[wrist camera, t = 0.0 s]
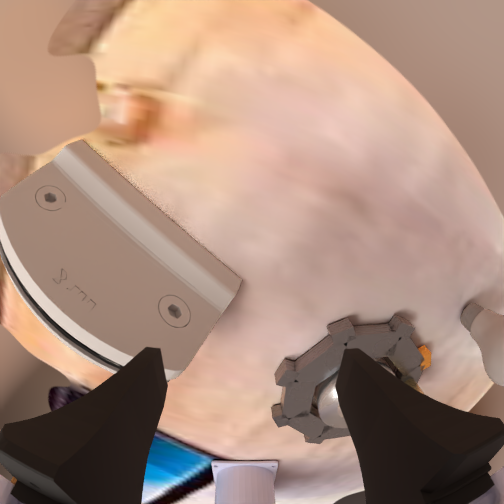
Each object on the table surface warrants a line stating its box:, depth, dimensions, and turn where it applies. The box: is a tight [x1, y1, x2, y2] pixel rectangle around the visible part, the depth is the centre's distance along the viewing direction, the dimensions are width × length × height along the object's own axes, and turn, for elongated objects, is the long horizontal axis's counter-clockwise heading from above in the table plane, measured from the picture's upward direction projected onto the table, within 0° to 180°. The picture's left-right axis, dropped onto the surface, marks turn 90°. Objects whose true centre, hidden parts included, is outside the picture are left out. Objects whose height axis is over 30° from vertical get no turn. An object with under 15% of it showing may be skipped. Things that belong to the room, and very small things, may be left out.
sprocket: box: [271, 315, 431, 444], centre depth 20 cm, size 15×15×6 cm
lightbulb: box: [461, 303, 504, 386], centre depth 16 cm, size 6×6×11 cm
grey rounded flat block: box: [0, 140, 242, 382], centre depth 15 cm, size 17×5×10 cm, turn 48°
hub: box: [314, 357, 395, 428], centre depth 22 cm, size 8×8×3 cm
